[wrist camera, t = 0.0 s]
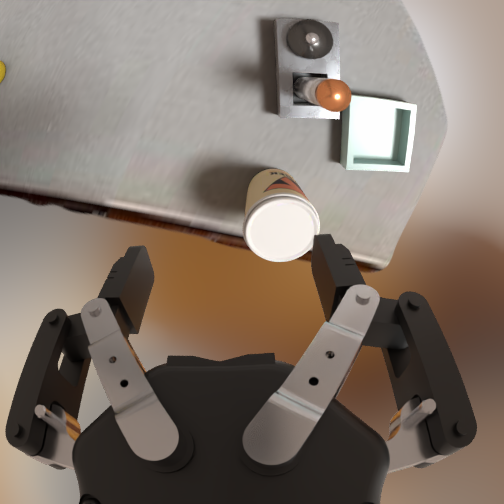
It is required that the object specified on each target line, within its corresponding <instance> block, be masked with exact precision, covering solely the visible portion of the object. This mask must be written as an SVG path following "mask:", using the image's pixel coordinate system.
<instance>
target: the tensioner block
mask: <svg viewBox="0 0 504 504" xmlns="http://www.w3.org/2000/svg"><path fill="white" fill-rule="evenodd" d="M274 38H275V58H276V81H277V110H278V116H279V117H280V118H327V119H339V112H331V111H328V110H326V109H324V108H322V107H320V106H317V105H315V104H304V103H293V74H292V73H317V74H321V78H329V79H338V80H340V51H339V26H338V23H335V22H326V21H316V20H309V19H307V20H304V19H281V18H276V20H275V21H274Z"/></svg>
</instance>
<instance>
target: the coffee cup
mask: <svg viewBox="0 0 504 504" xmlns="http://www.w3.org/2000/svg"><path fill="white" fill-rule="evenodd" d="M319 229H320V221H319V217H318V214H317V212H316V210H315V208H314V207H313V205H312V204H311V203H310V202H309V200H308V199H307V197H306V196H305V194H304V193H303V191H302V190H301V188H300V187H299V185H298V184H297V183H296V181H295V180H294V179H293V177H292V176H291V175H290V174H288V173H287V172H285V171H283V170H280V169H267V170H264V171H261V172H260V173H258V174H257V175H256V176H254V178H253V179H252V180H251V182H250V184H249V187H248V191H247V199H246V208H245V218H244V222H243V235H244V239H245V242H246V243H247V245H248V247H249V248H250V249H251V250H252V251H253V252H254V253H255V254H257V255H258V256H260V257H262V258H264V259H266V260H270V261H275V262H284V261H290V260H294V259H296V258H298V257H300V256H302V255H303V254H305V253H306V252H307V251H308V250H309V249H310V248H311V247H312V246H313V239H314V235H318V233H319Z"/></svg>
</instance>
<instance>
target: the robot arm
mask: <svg viewBox="0 0 504 504" xmlns="http://www.w3.org/2000/svg"><path fill="white" fill-rule="evenodd" d="M311 267H312V274H313V277H314V280H315V284H316V287H317V291H318V294H319V297H320V301H321V304H322V308H323V311H324V314H325V318H326V322H325V323H324V324H323V325H322V327H321V329H320V330H319V332H318V333H317V335H316V337H315V338H314V339H313V341H312V343H311V344H310V346H309V347H308V349H307V350H306V352H305V353H304V355H303V356H302V358H301V359H300V360H299V362H298V363H297V365H296V366H293V365H291V364H288V363H286V362H282V361H276V360H275V355H274V353H264V354H248V355H244V356H240V357H236V358H232V359H228V360H224V361H213V360H209V359H204V358H200V357H195V356H168V358H167V363H166V364H162V365H159V366H157V367H154V368H152V369H151V370H149V371H147V372H146V370H145V368H144V367H143V365H142V363H141V362H140V360H139V358H138V356H137V354H136V353H135V351H134V349H133V347H132V345H131V343H130V342H129V340H128V337H129V334H138V333H139V329H140V326H141V322H142V319H143V315H144V312H145V309H146V305H147V302H148V299H149V295H150V292H151V289H152V286H153V283H154V271H153V268H152V265H151V262H150V259H149V256H148V253H147V250H146V247H145V246H133V247H129V248H128V250H127V252H126V254H125V256H124V257H121V258H120V259H119V260H118V261H117V262H116V263H115V264H114V265H113V267H112V269H111V271H110V273H109V275H108V277H107V279H106V281H105V283H104V285H103V287H102V289H101V291H100V293H99V296H98V298H96V299H93V300H91V301H89V302H87V303H86V304H85V305H84V307H83V308H82V310H81V313H78V314H74V315H70V316H67V314H66V312H65V311H64V310H63V309H55V310H52V311H51V312H49V313H48V314H47V315H46V316H45V318H44V319H43V322H42V324H41V326H40V328H39V330H38V333H37V335H36V338H35V340H34V342H33V344H32V347H31V349H30V352H29V354H28V357H27V360H26V362H25V365H24V368H23V371H22V373H21V377H20V379H19V382H18V385H17V388H16V391H15V395H14V398H13V401H12V405H11V409H10V412H9V416H8V420H7V424H6V438H7V440H8V442H9V443H10V444H11V445H12V446H13V447H15V448H17V449H19V450H20V451H22V452H24V453H25V454H26V455H28V456H30V457H32V458H33V459H35V460H37V461H39V462H41V463H43V464H46V465H49V466H52V467H54V468H56V469H65V468H69V469H73V470H75V473H76V476H77V480H78V484H79V490H80V502H79V504H380V498H381V492H382V487H383V484H384V481H385V478H386V475H387V473H391V472H395V471H398V470H402V469H405V468H408V467H411V466H414V467H417V468H424V467H427V466H429V465H431V464H433V463H435V462H437V461H440V460H442V459H444V458H445V457H447V456H449V455H451V454H453V453H455V452H456V451H458V450H460V449H462V448H464V447H465V446H467V445H469V444H470V443H471V442H472V440H473V439H474V437H475V435H476V431H477V424H476V420H475V416H474V413H473V410H472V407H471V404H470V401H469V398H468V395H467V392H466V389H465V386H464V383H463V381H462V378H461V375H460V373H459V370H458V368H457V365H456V363H455V361H454V358H453V356H452V353H451V351H450V348H449V346H448V344H447V342H446V339H445V337H444V335H443V333H442V331H441V328H440V326H439V324H438V322H437V320H436V318H435V316H434V314H433V312H432V310H431V308H430V306H429V304H428V302H427V300H426V299H425V298H424V297H423V296H421V295H420V294H418V293H415V292H405V293H403V294H401V295H400V297H399V299H398V300H394V299H386V298H382V297H379V294H378V293H377V291H375V290H374V289H373V288H371V287H370V286H367V285H366V284H365V281H364V279H363V277H362V275H361V273H360V271H359V269H358V267H357V265H356V263H355V261H354V259H353V257H352V255H351V253H350V251H349V250H348V249H347V248H346V247H345V246H343V245H342V244H335V242H334V240H333V238H332V236H331V234H320V235H314V239H313V250H312V261H311ZM362 345H365V346H373V347H381V349H382V352H383V356H384V359H385V362H386V366H387V370H388V373H389V377H390V380H391V384H392V388H393V392H394V396H395V400H396V404H397V408H398V412H397V413H396V414H395V415H394V416H393V417H392V419H391V421H390V426H389V427H390V434H389V437H388V439H387V441H386V442H385V441H384V439H383V438H382V437H381V436H380V435H379V434H378V433H377V432H376V431H374V430H373V429H372V428H371V427H369V426H368V425H367V424H366V423H364V422H363V421H362V420H361V419H360V418H358V417H357V416H356V415H354V414H353V413H352V412H351V411H349V410H348V409H347V408H346V407H345V406H344V405H342V404H341V403H340V402H339V401H338V400H336V397H337V395H338V393H339V391H340V389H341V388H342V386H343V384H344V382H345V380H346V378H347V376H348V374H349V372H350V370H351V367H352V366H353V364H354V362H355V360H356V358H357V356H358V354H359V352H360V349H361V347H362ZM61 352H62V353H63V354H64V357H63V360H62V363H61V366H60V369H59V370H58V361H59V358H60V355H61ZM91 358H92V360H93V363H94V366H95V368H96V370H97V373H98V376H99V378H100V381H101V383H102V385H103V388H104V390H105V392H106V394H107V397H108V399H109V401H110V403H111V406H110V407H109V408H107V409H106V410H105V411H104V412H103V413H102V414H101V415H100V416H99V417H98V418H97V419H96V420H95V421H94V422H93V423H91V424H90V426H88V427H87V428H86V429H85V430H84V431H83V432H82V433H81V428H80V424H79V423H78V421H77V418H78V413H79V408H80V403H81V399H82V394H83V390H84V386H85V381H86V377H87V373H88V370H89V366H90V362H91Z"/></svg>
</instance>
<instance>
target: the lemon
mask: <svg viewBox="0 0 504 504" xmlns="http://www.w3.org/2000/svg"><path fill="white" fill-rule="evenodd" d="M5 72H6V68H5V65H4V63H3V62H2V61H0V83H1V81H2V80H3V78H4V76H5Z"/></svg>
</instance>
